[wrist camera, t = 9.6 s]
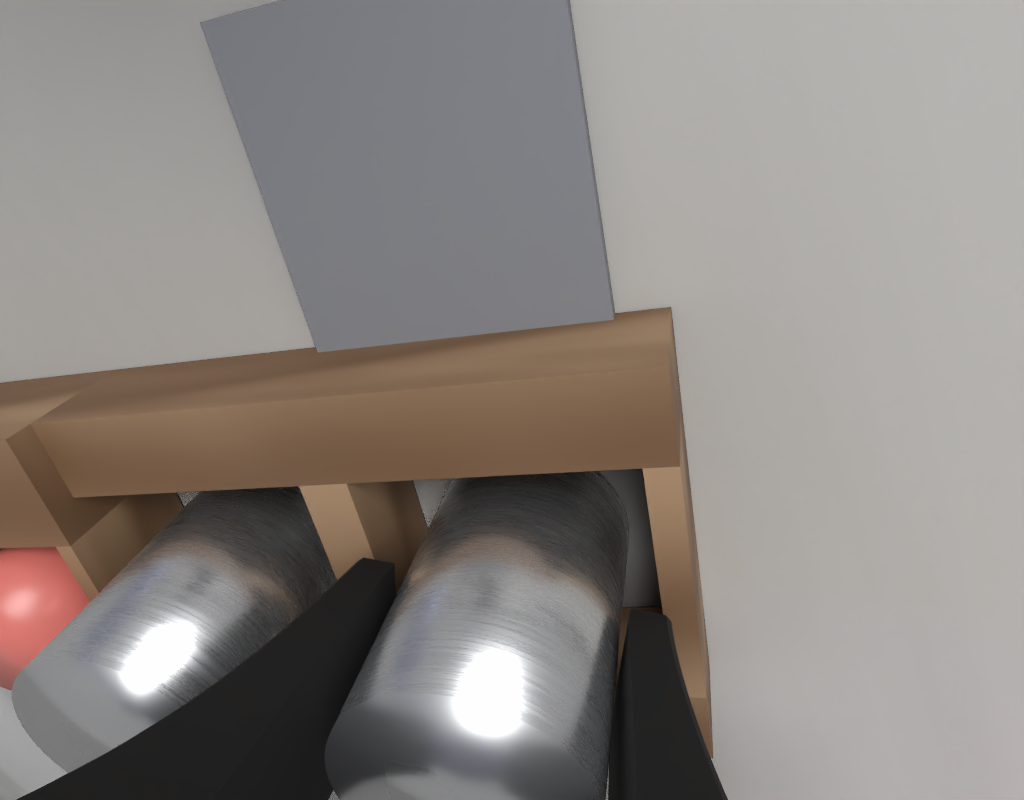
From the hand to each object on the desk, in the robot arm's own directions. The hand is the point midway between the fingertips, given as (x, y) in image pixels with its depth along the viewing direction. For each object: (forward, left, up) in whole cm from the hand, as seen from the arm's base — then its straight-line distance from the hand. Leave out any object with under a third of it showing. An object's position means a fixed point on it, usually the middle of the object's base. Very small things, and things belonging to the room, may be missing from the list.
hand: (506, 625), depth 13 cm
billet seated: (0, -6, -3) cm, 7 cm away
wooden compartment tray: (0, -5, -3) cm, 6 cm away
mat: (-7, -1, -3) cm, 8 cm away
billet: (0, 0, -3) cm, 3 cm away
